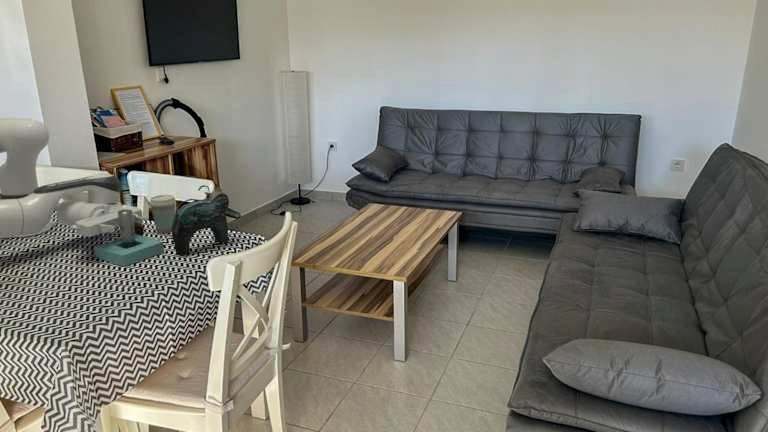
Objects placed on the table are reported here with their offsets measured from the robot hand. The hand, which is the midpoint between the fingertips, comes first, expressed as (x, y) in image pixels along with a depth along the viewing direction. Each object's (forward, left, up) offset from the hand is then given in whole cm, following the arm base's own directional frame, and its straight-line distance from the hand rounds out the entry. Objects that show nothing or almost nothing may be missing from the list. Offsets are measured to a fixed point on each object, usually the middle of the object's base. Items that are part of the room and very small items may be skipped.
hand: (128, 224), depth 176 cm
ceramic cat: (+13, +17, -10) cm, 24 cm away
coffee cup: (-11, +21, -10) cm, 26 cm away
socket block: (-1, 0, -10) cm, 10 cm away
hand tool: (-23, +17, -10) cm, 30 cm away
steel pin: (-1, 0, -10) cm, 10 cm away
